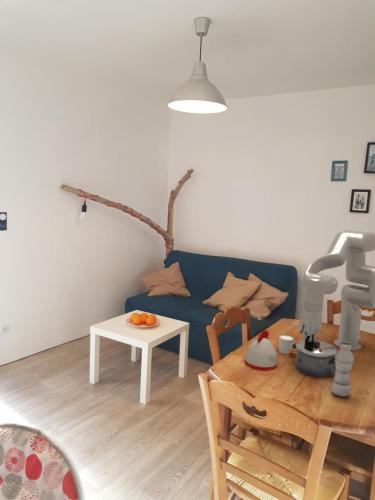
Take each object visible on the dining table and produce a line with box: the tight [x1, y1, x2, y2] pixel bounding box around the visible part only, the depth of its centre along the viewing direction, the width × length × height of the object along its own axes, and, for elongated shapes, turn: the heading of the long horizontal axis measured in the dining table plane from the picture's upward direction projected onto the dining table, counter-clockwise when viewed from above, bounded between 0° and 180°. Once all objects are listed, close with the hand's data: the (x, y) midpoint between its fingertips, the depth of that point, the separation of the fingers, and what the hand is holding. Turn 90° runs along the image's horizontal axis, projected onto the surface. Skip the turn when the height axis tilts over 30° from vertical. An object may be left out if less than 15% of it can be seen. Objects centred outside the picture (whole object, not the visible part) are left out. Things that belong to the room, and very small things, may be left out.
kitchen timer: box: [244, 329, 278, 372], centre depth 167 cm, size 14×14×15 cm
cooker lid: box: [296, 339, 338, 357], centre depth 163 cm, size 16×16×3 cm
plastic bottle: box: [330, 342, 355, 398], centre depth 142 cm, size 6×7×20 cm
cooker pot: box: [292, 342, 338, 379], centre depth 163 cm, size 17×25×9 cm, turn 41°
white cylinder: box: [278, 334, 295, 355], centre depth 182 cm, size 7×7×7 cm
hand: (308, 349), depth 159 cm, fingers closed
